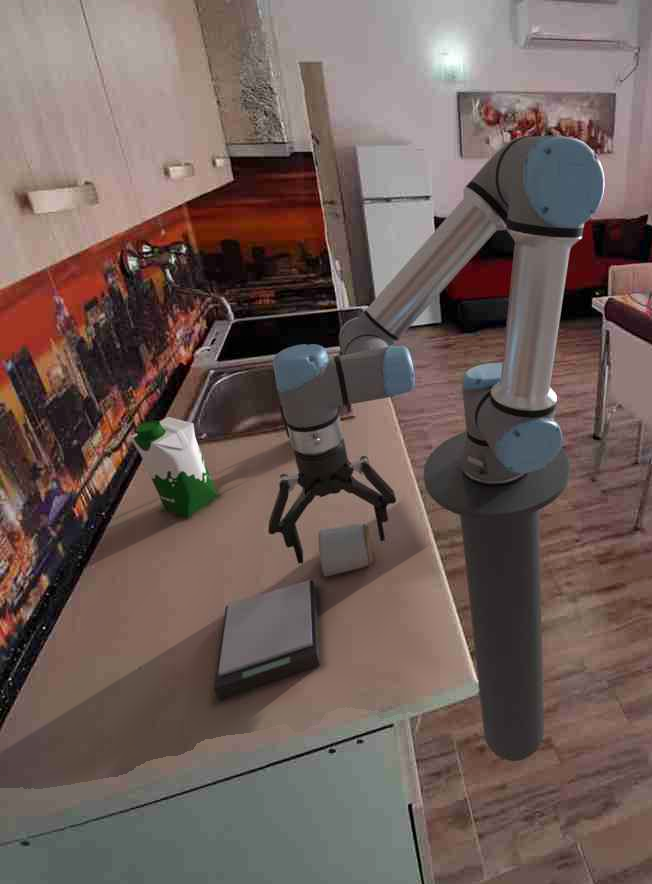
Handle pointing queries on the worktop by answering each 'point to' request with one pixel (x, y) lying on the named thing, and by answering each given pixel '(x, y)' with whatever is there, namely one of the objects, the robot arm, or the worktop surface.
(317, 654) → the kitchen scale
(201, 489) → the milk carton
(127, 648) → the worktop surface
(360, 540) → the ceramic mug
